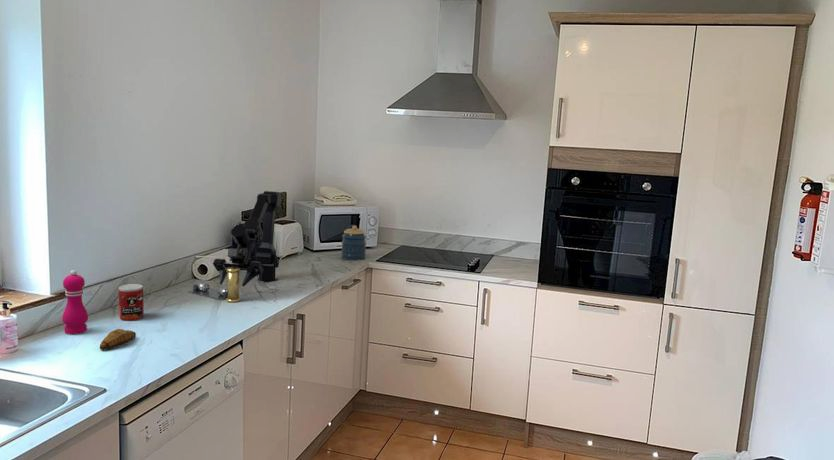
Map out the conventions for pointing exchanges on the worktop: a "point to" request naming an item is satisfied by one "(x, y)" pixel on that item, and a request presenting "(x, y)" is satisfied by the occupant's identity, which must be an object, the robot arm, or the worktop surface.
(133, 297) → the canned food
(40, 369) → the worktop surface
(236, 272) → the gold flanged cylinder
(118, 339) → the croissant
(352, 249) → the canister
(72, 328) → the pepper mill
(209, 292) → the shaft bed
